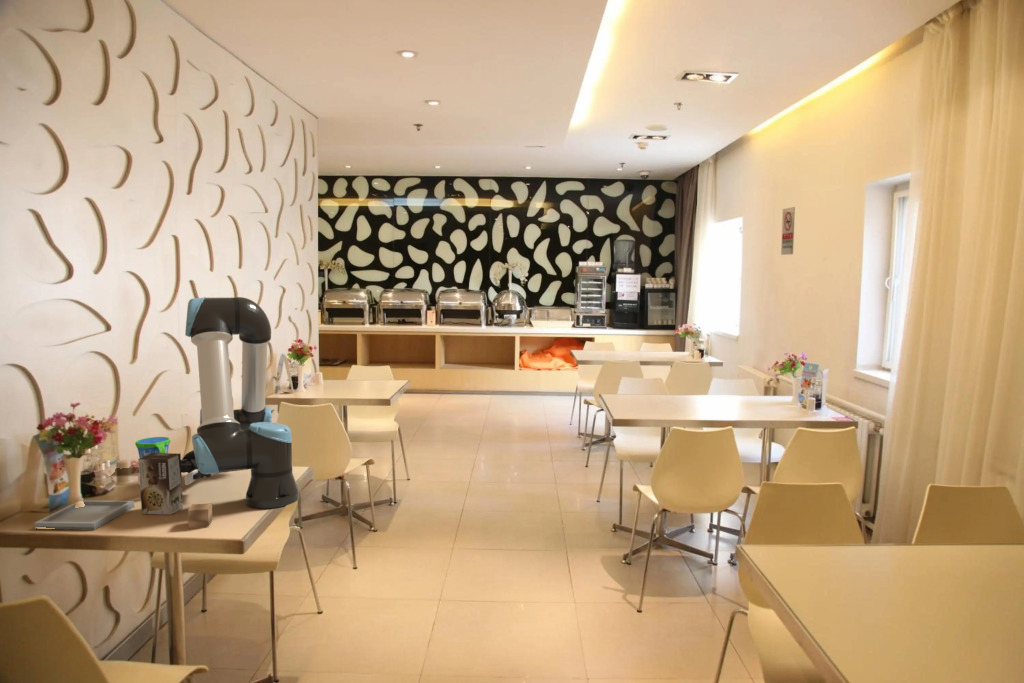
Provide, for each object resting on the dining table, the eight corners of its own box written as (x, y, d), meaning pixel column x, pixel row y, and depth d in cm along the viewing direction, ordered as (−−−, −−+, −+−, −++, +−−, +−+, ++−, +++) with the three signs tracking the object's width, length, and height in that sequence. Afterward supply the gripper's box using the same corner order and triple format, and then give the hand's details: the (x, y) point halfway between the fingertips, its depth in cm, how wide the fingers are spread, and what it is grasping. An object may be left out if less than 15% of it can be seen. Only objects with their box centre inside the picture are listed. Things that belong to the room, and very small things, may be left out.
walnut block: (212, 520, 184) (211, 503, 184) (208, 527, 179) (208, 509, 179) (192, 522, 183) (192, 504, 183) (188, 528, 178) (187, 510, 178)
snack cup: (131, 466, 236) (129, 438, 235) (163, 461, 243) (162, 433, 242) (144, 476, 225) (142, 446, 224) (177, 470, 232) (176, 441, 231)
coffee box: (184, 507, 195) (181, 453, 193) (171, 515, 188) (168, 459, 187) (154, 506, 195) (151, 452, 194) (140, 514, 189) (137, 458, 187)
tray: (134, 506, 195) (133, 500, 195) (94, 530, 177) (93, 523, 177) (80, 506, 195) (79, 500, 195) (34, 529, 177) (34, 522, 177)
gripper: (238, 472, 214) (205, 493, 193) (161, 471, 215) (120, 492, 193) (237, 449, 213) (204, 467, 192) (160, 448, 214) (119, 466, 193)
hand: (162, 480), depth 193 cm, fingers open, 13 cm apart
